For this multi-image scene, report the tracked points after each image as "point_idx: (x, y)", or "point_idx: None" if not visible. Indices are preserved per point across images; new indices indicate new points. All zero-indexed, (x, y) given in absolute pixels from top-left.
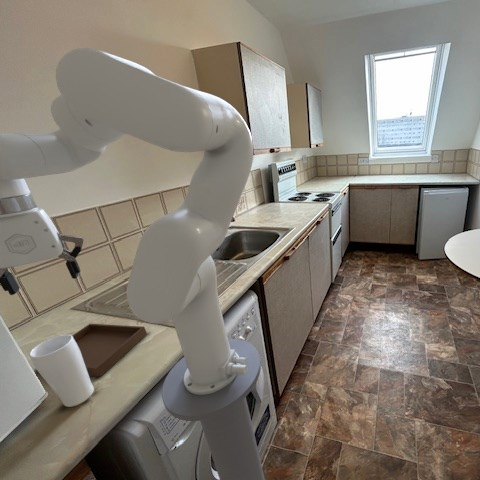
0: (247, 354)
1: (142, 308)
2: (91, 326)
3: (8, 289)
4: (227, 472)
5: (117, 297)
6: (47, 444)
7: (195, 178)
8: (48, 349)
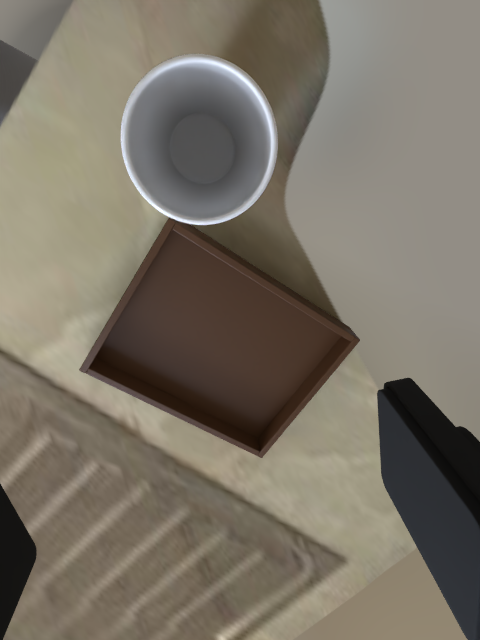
0: None
1: None
2: (255, 445)
3: (429, 408)
4: None
5: (236, 569)
6: None
7: None
8: (244, 197)
